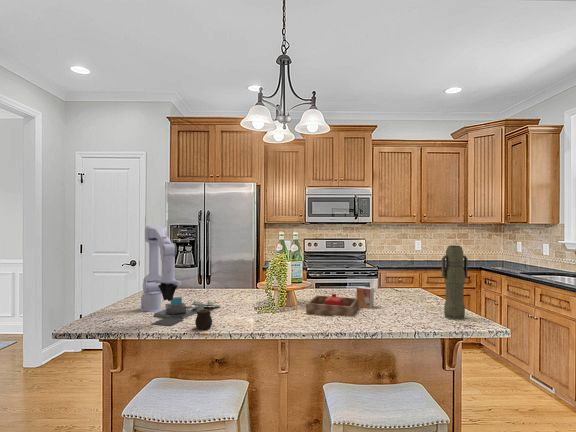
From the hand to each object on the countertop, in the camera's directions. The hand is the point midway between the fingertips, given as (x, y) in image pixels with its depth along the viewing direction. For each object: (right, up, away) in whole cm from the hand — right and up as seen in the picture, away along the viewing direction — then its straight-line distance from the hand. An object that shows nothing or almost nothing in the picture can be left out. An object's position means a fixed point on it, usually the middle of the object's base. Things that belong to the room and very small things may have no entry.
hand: (168, 300), depth 173 cm
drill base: (-1, -10, +14) cm, 17 cm away
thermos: (+133, -11, +7) cm, 134 cm away
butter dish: (+79, -11, +27) cm, 84 cm away
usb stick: (0, -9, +14) cm, 16 cm away
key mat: (0, -10, 0) cm, 10 cm away
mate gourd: (+19, -11, -9) cm, 23 cm away
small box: (+96, -11, +33) cm, 102 cm away
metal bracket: (+18, -9, +25) cm, 32 cm away
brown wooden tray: (+78, -11, +24) cm, 82 cm away
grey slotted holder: (+3, -9, +15) cm, 18 cm away
